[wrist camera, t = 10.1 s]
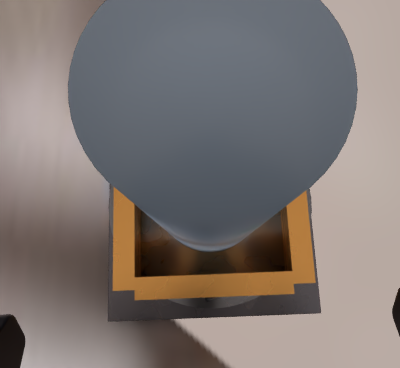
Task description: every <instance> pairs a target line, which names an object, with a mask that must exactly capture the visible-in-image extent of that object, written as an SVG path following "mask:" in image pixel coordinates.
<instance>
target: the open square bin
mask: <svg viewBox="0 0 400 368" xmlns="http://www.w3.org/2000/svg"><path fill="white" fill-rule="evenodd" d="M311 211H312V208H311V195H310V189H307V190H306V191H305V192H304V193H302V194H301V195H300V196H298V197H297V198H296V199H295V200H293V201H292V202H291V203H289V204H288V205H287V206H286V207H284V208H283V209H282V210H280V211H279V212H278V213H277V214H275V215H274V216H273V217H271V218H270V219H269V220H267V221H266V222H265V223H264V224H262V225H261V226H260V227H258V228H257V229H256V230H255V231H253V232H252V233H251V234H249V235H248V236H247V237H246V238H244V239H243V240H242V241H240V242H239V243H238V244H236V245H235V246H233V247H231V248H229V249H226V250H224V251H219V252H212V253H210V252H200V251H196V250H193V249H190V248H188V247H186V246H185V245H183V244H181V243H180V242H179V241H178V240H177V239H175V238H174V237H173V236H172V235H171V234H169V233H168V232H167V231H166V230H165V229H163V228H162V227H161V226H160V225H159V224H158V223H156V222H155V221H154V220H153V219H152V218H150V217H149V216H148V215H147V214H146V213H144V212H143V211H142V210H141V209H140V208H139V207H137V206H136V205H135V204H134V203H133V202H131V201H130V200H129V199H128V198H127V197H126V196H124V195H123V194H122V193H121V192H120V191H118V190H117V189H116V188H115V187H114V186H112V185H111V184H110V198H109V282H108V321H133V320H159V319H182V318H210V317H236V316H259V315H260V316H262V315H285V314H286V315H288V314H312V313H313V314H314V313H321V307H320V297H319V289H318V278H317V269H316V259H315V249H314V241H313V230H312V220H311V213H312V212H311Z"/></svg>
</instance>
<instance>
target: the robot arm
mask: <svg viewBox="0 0 400 368" xmlns="http://www.w3.org/2000/svg"><path fill="white" fill-rule="evenodd" d="M392 314H393V319H394V322H395V325H396V327H397V330H398V333H399V336H400V288H399V289H398V292H397V296H396V299H395V302H394V305H393V309H392ZM24 347H25V336H24V333H23V331H22V329H21V328H20V326H19V324H18V322H17V320H16V318H15V317H14V316H13V315H11V314H6V315H0V368H20V365H21V361H22V356H23V352H24Z"/></svg>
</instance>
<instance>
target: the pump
mask: <svg viewBox="0 0 400 368" xmlns="http://www.w3.org/2000/svg"><path fill="white" fill-rule="evenodd" d="M357 90H358V89H357V74H356V68H355V63H354V59H353V54H352V52H351V49H350V46H349V43H348V41H347V38H346V36H345V34H344V32H343V31H342V29H341V27H340V25H339V23H338V22H337V20H336V19H335V18H334V16H333V15H332V14H331V12H330V10H329V9H328V8H327V7H326V6H325V5H324V4H323V3H322V2H321V1H320V0H106V1H105V2H104V3H103V4H102V5H101V6H100V7H99V8H98V10H97V11H96V12H95V14H94V15H93V16H92V18H91V19H90V20H89V22H88V24H87V25H86V27H85V29H84V31H83V32H82V34H81V36H80V38H79V41H78V43H77V46H76V48H75V51H74V54H73V58H72V62H71V66H70V72H69V81H68V99H69V107H70V113H71V119H72V122H73V125H74V128H75V132H76V135H77V137H78V139H79V141H80V143H81V145H82V147H83V149H84V151H85V153H86V155H87V156H88V158H89V159H90V161H91V162H92V164H93V165H94V166H95V168H96V169H97V170H98V171H99V172H100V173H101V175H102V176H103V177H104V178H105V179H106V180H107V181H108V182H109V183H110V184H111V185H112V186H114V187H115V188H116V189H117V190H118V191H120V192H121V193H122V194H123V195H124V196H126V197H127V198H128V199H129V200H130V201H131V202H133V203H134V204H135V205H136V206H137V207H139V208H140V209H141V210H142V211H143V212H144V213H146V214H147V215H148V216H149V217H150V218H152V219H153V220H154V221H155V222H156V223H158V224H159V225H160V226H161V227H162V228H163V229H165V230H166V231H167V232H168V233H169V234H171V235H172V236H173V237H174V238H175V239H177V240H178V241H179V242H180V243H181V244H183V245H185V246H186V247H188V248H190V249H193V250H196V251H200V252H210V253H212V252H219V251H224V250H226V249H229V248H231V247H233V246H235V245H236V244H238V243H239V242H240V241H242V240H243V239H244V238H246V237H247V236H248V235H249V234H251V233H252V232H253V231H255V230H256V229H257V228H258V227H260V226H261V225H262V224H264V223H265V222H266V221H267V220H269V219H270V218H271V217H273V216H274V215H275V214H277V213H278V212H279V211H280V210H282V209H283V208H284V207H286V206H287V205H288V204H289V203H291V202H292V201H293V200H295V199H296V198H297V197H298V196H300V195H301V194H302V193H304V192H305V191H306V190H307V189H309V188H310V187H311V186H312V185H313V184H314V183H315V182H316V181H317V180H318V179H319V178H320V177H321V176H322V175H323V174H325V172H326V171H327V170H328V168H329V167H330V166H331V164H332V163H333V162H334V160H335V159H336V158H337V156H338V154H339V152H340V151H341V149H342V147H343V146H344V144H345V142H346V139H347V137H348V134H349V132H350V129H351V126H352V123H353V119H354V114H355V110H356V101H357Z"/></svg>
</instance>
